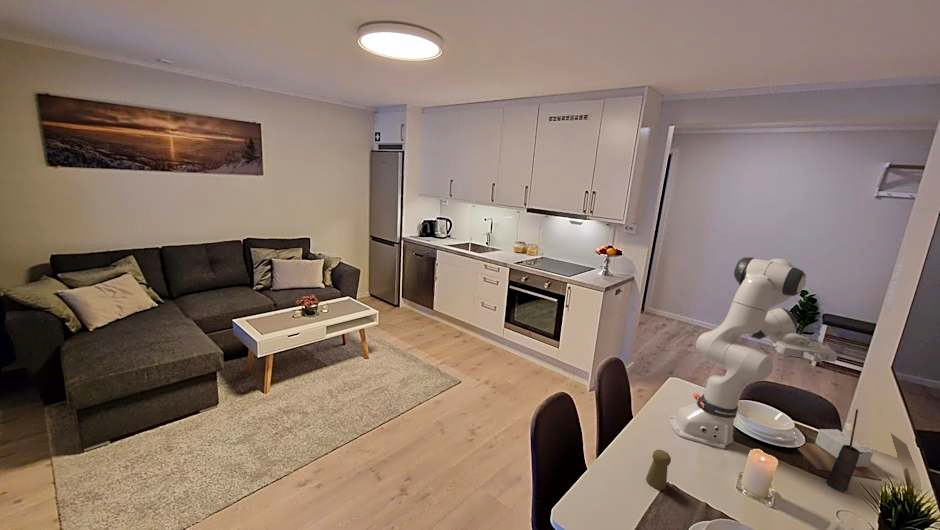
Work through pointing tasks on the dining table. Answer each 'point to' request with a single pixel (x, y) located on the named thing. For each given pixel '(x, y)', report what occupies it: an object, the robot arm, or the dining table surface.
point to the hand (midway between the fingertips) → (817, 360)
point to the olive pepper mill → (658, 470)
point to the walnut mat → (830, 461)
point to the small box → (835, 441)
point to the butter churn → (844, 465)
